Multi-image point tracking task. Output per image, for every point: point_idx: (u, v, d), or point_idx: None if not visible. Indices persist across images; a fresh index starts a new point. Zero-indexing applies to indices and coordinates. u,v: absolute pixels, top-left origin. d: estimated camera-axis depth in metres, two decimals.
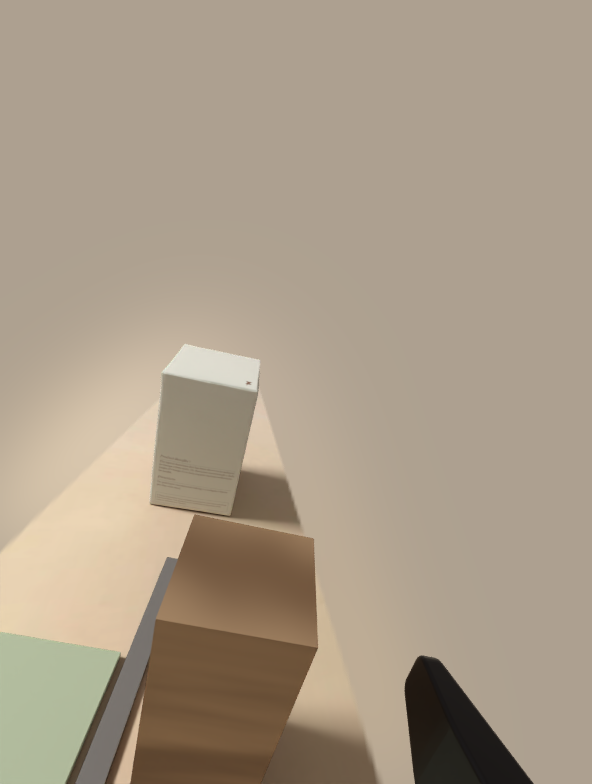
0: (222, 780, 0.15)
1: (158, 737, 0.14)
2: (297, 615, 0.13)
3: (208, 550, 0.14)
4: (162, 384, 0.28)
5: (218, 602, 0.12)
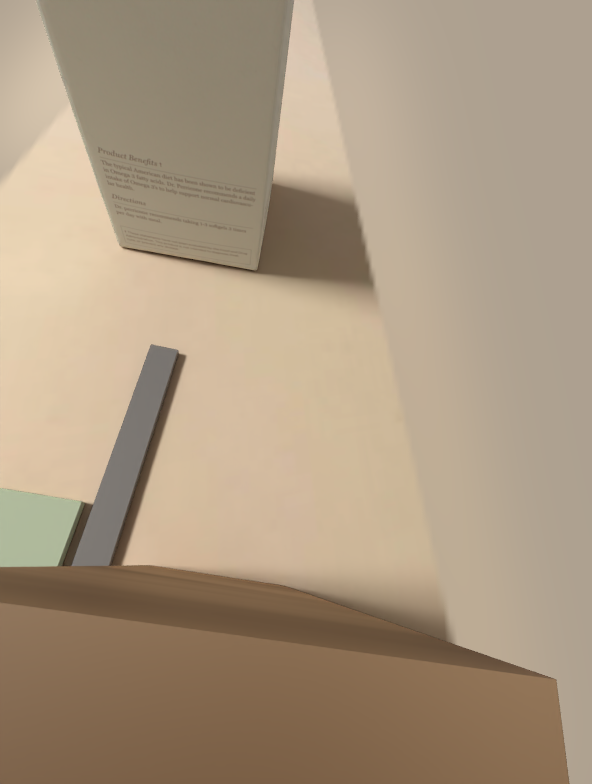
0: None
1: None
2: None
3: None
4: None
5: None
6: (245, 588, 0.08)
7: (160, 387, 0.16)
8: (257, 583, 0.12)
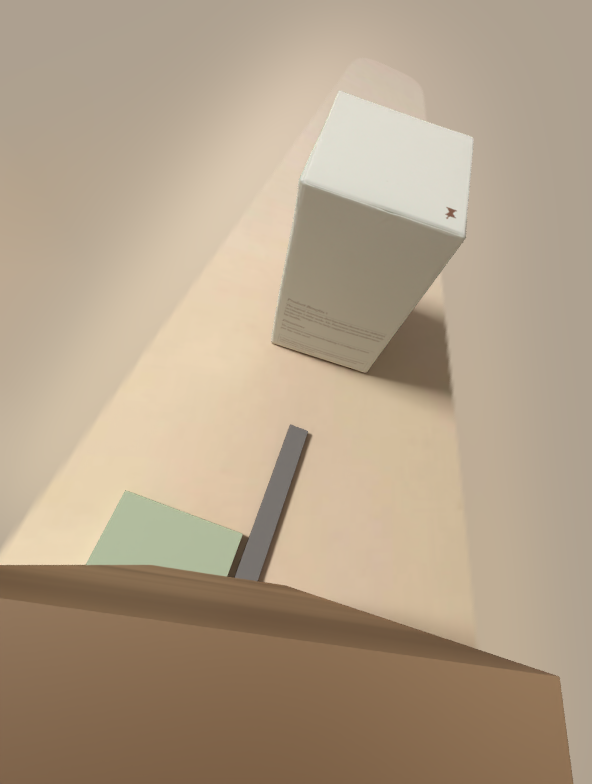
0: None
1: None
2: None
3: None
4: (298, 202, 0.16)
5: None
6: (247, 587, 0.08)
7: (295, 458, 0.23)
8: None
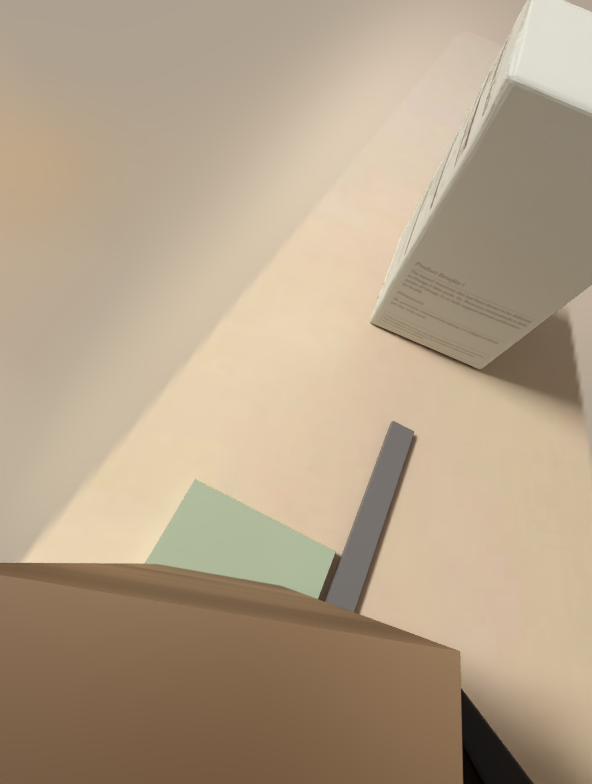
0: None
1: None
2: None
3: None
4: (492, 112, 0.12)
5: None
6: (244, 586, 0.09)
7: (399, 463, 0.19)
8: (255, 582, 0.14)
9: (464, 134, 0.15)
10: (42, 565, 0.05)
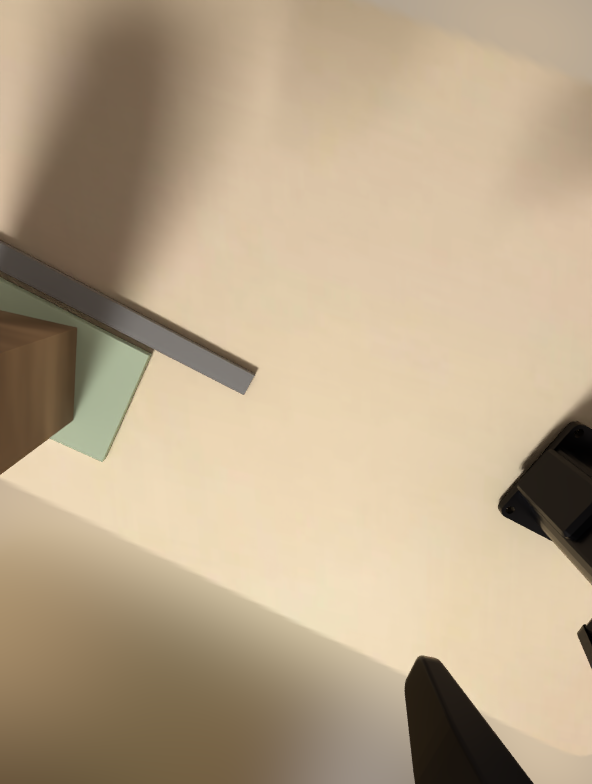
0: (16, 384, 0.15)
1: None
2: None
3: None
4: None
5: None
6: None
7: None
8: None
9: None
10: None
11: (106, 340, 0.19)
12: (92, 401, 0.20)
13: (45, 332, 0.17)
